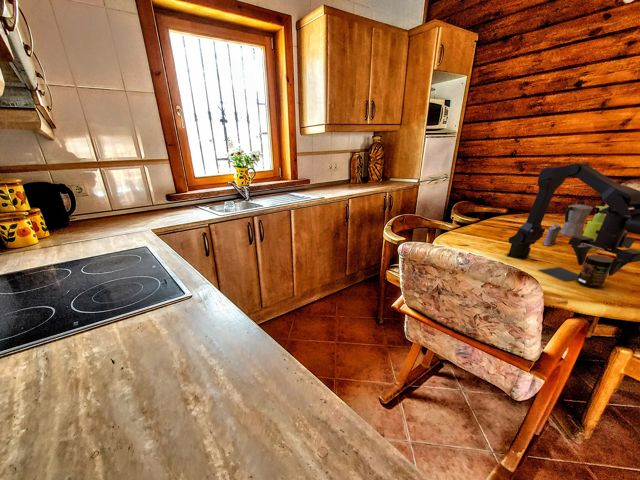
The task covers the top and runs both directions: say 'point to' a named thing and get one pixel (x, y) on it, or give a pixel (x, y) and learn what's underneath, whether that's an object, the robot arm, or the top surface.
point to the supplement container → (594, 271)
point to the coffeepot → (575, 219)
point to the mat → (561, 274)
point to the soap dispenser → (594, 225)
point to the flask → (552, 234)
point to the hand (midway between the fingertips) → (594, 270)
